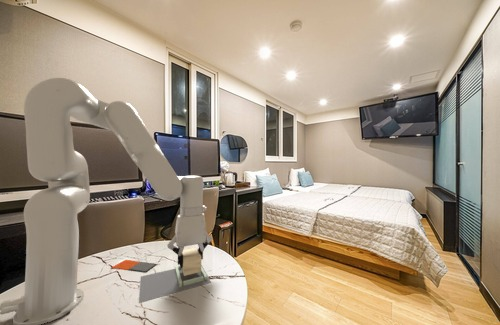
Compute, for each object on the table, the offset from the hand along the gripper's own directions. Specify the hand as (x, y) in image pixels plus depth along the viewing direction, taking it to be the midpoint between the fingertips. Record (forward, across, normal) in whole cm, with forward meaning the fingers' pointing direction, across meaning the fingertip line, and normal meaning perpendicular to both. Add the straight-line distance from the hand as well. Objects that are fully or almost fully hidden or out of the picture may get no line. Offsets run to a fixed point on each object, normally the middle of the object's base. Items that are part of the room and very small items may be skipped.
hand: (190, 263), depth 65 cm
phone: (+5, +17, -15) cm, 23 cm away
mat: (+4, +5, +1) cm, 7 cm away
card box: (+2, 0, 0) cm, 2 cm away
